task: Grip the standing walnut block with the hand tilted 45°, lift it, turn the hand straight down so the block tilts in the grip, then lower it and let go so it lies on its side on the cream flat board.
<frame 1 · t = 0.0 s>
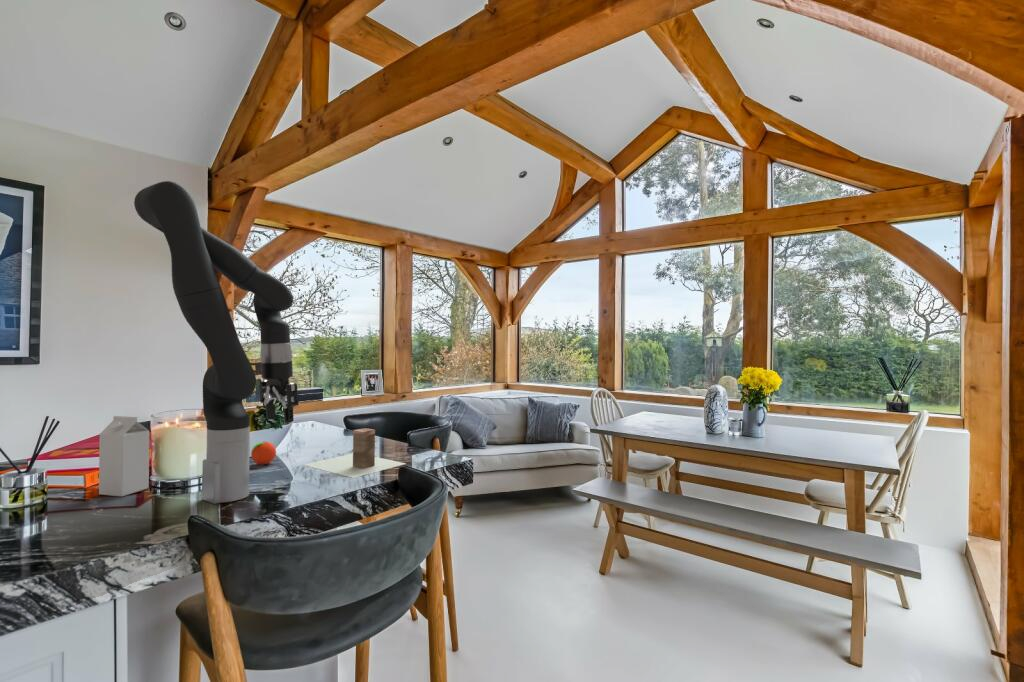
hand: (279, 420, 133), 17 cm above the kitchen island, tool pointing down, fingers open, 8 cm apart
clementine: (262, 465, 154), on the kitchen island
cream flat board: (355, 466, 153), on the kitchen island
walnut block: (363, 466, 151), point 1 cm above the kitchen island, touching cream flat board
milk carton: (124, 492, 125), on the kitchen island
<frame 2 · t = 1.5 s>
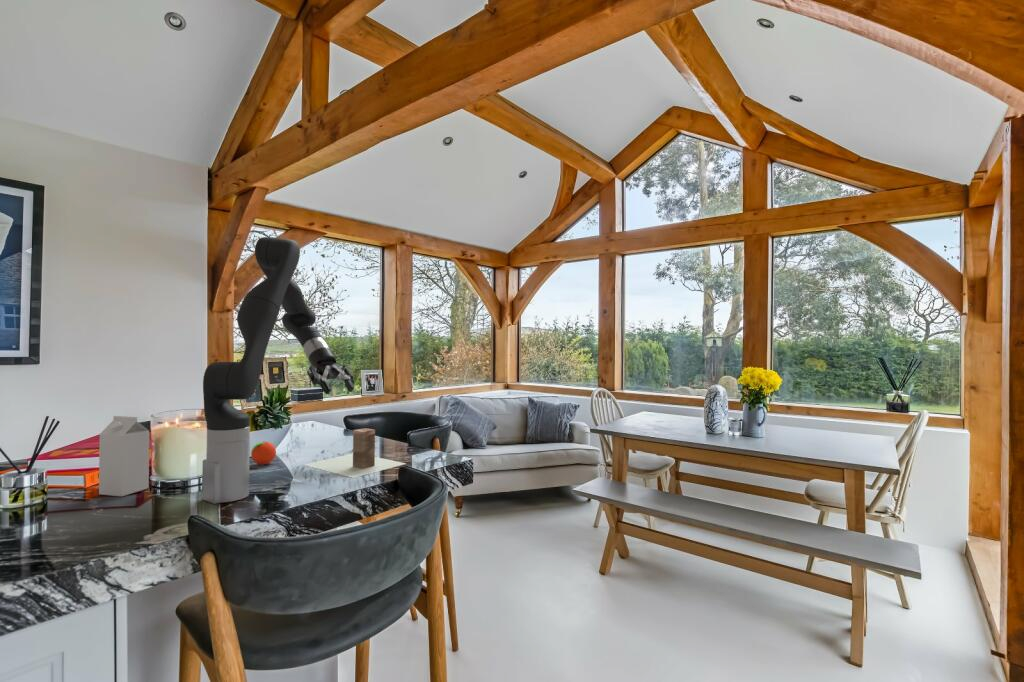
hand: (340, 391, 158), 22 cm above the kitchen island, tool tilted 45°, fingers open, 8 cm apart
nothing on the kitchen island moved.
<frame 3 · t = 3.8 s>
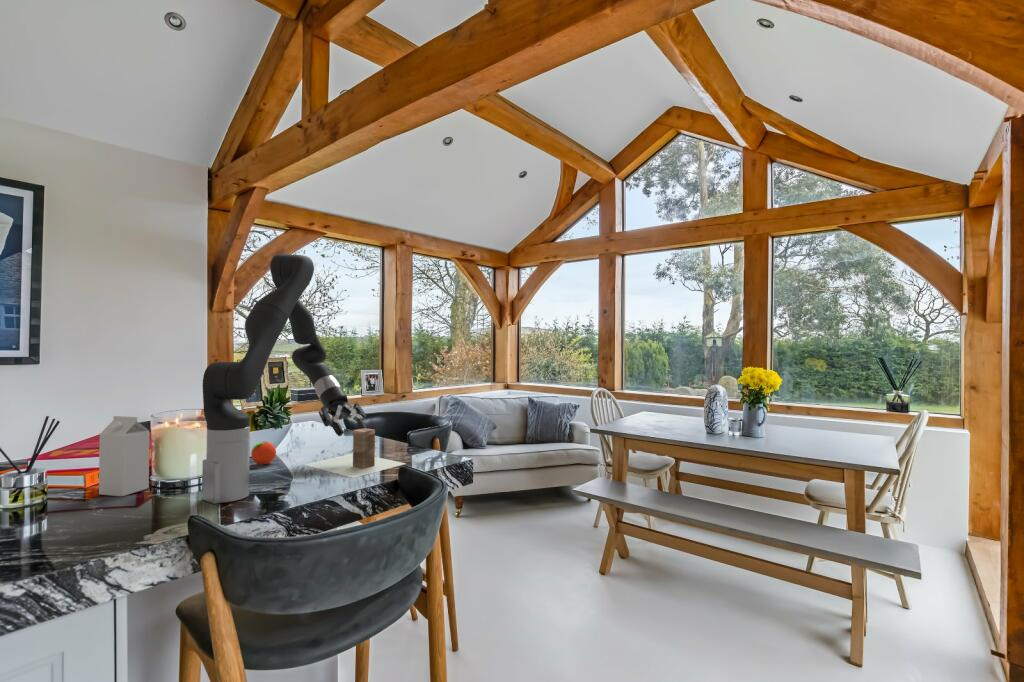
hand: (353, 432, 154), 10 cm above the kitchen island, tool tilted 45°, fingers open, 8 cm apart
nothing on the kitchen island moved.
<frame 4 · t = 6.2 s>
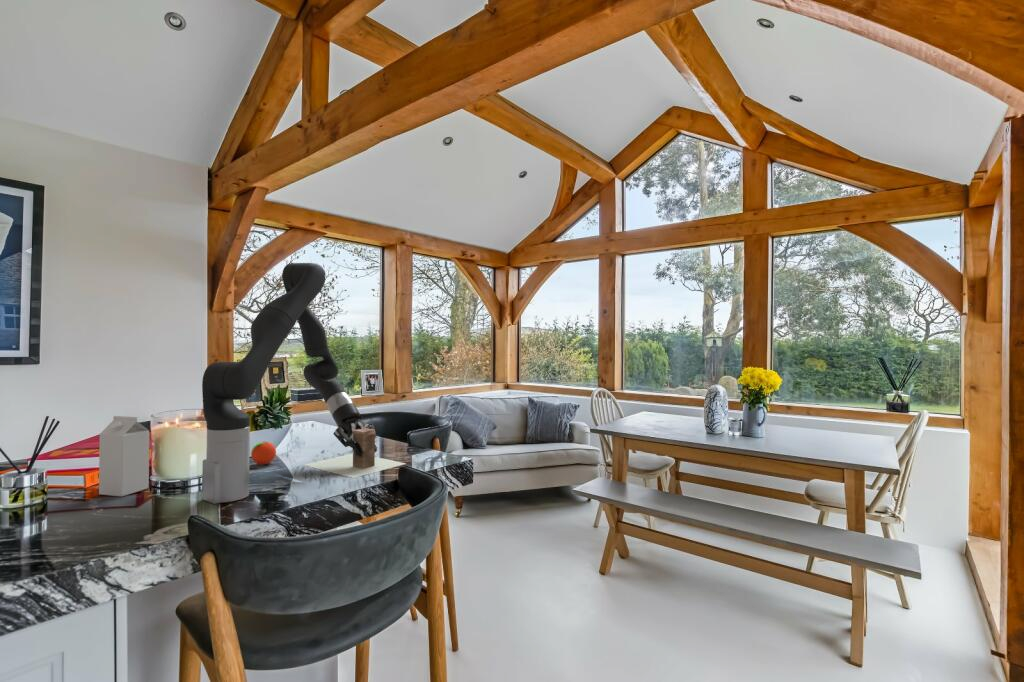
hand: (368, 453, 150), 5 cm above the kitchen island, tool tilted 45°, fingers closed on walnut block, 4 cm apart
walnut block: (363, 466, 151), point 1 cm above the kitchen island, touching gripper, cream flat board
everything else where it was.
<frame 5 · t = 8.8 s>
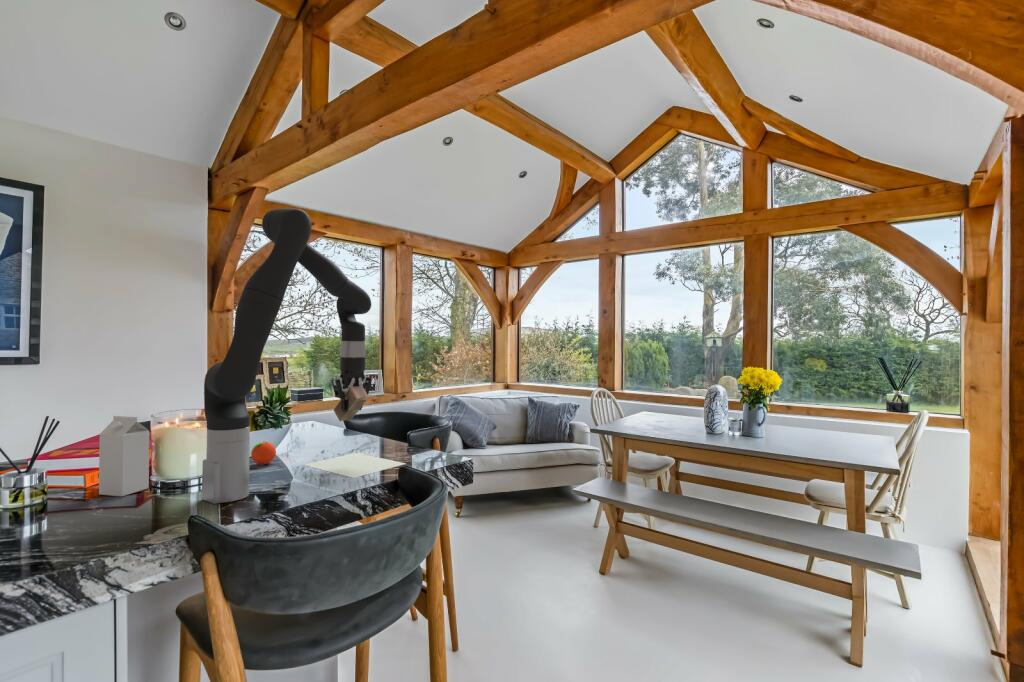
hand: (351, 410, 154), 17 cm above the kitchen island, tool pointing down, fingers closed on walnut block, 4 cm apart
walnut block: (342, 414, 156), point 15 cm above the kitchen island, tilted 45°, touching gripper
everything else where it was.
when the fingers open (6 cm above the kitchen island, at t = 12.3 s): walnut block drops 1 cm and tips over, resting on cream flat board.
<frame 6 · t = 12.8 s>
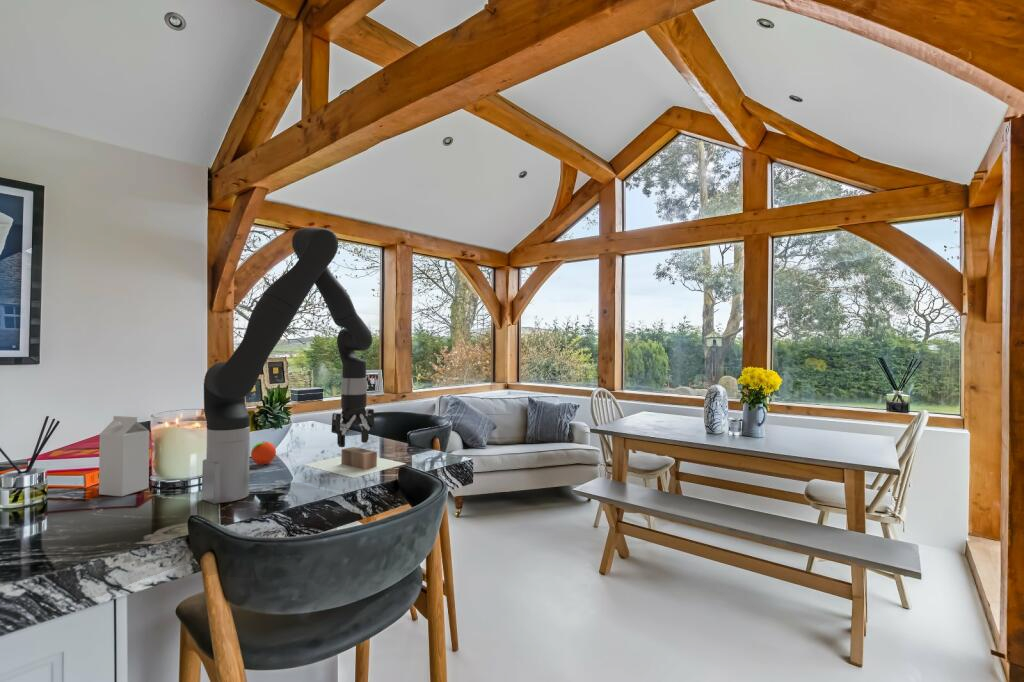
hand: (353, 444, 154), 6 cm above the kitchen island, tool pointing down, fingers open, 8 cm apart
walnut block: (347, 455, 155), point 3 cm above the kitchen island, tilted 90°, touching cream flat board
everything else where it was.
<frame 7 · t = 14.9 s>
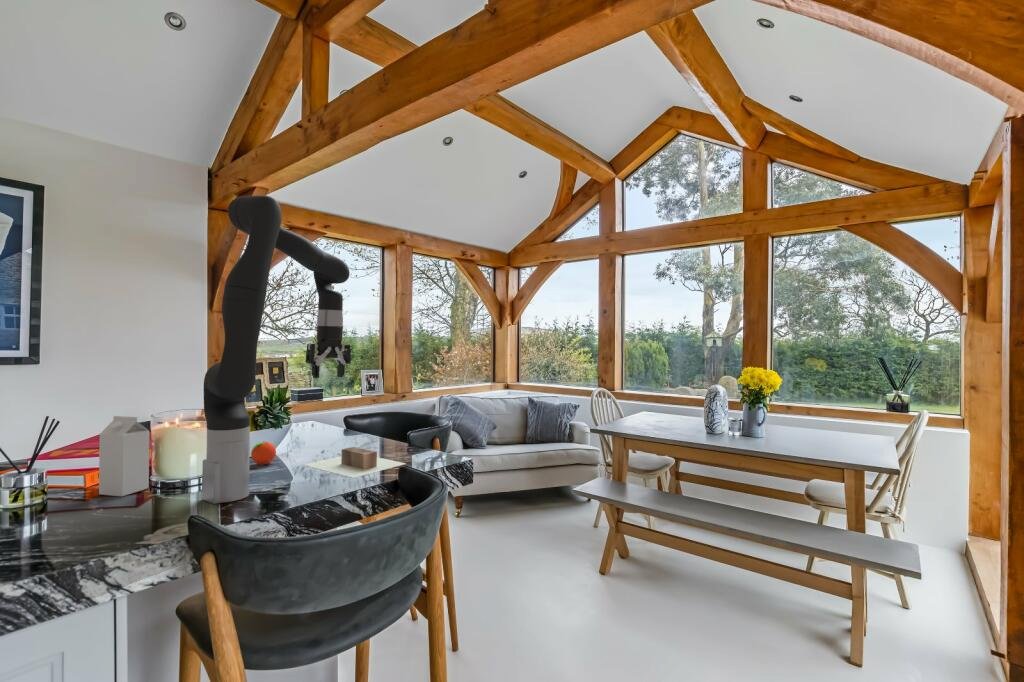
hand: (328, 377, 153), 27 cm above the kitchen island, tool pointing down, fingers open, 8 cm apart
nothing on the kitchen island moved.
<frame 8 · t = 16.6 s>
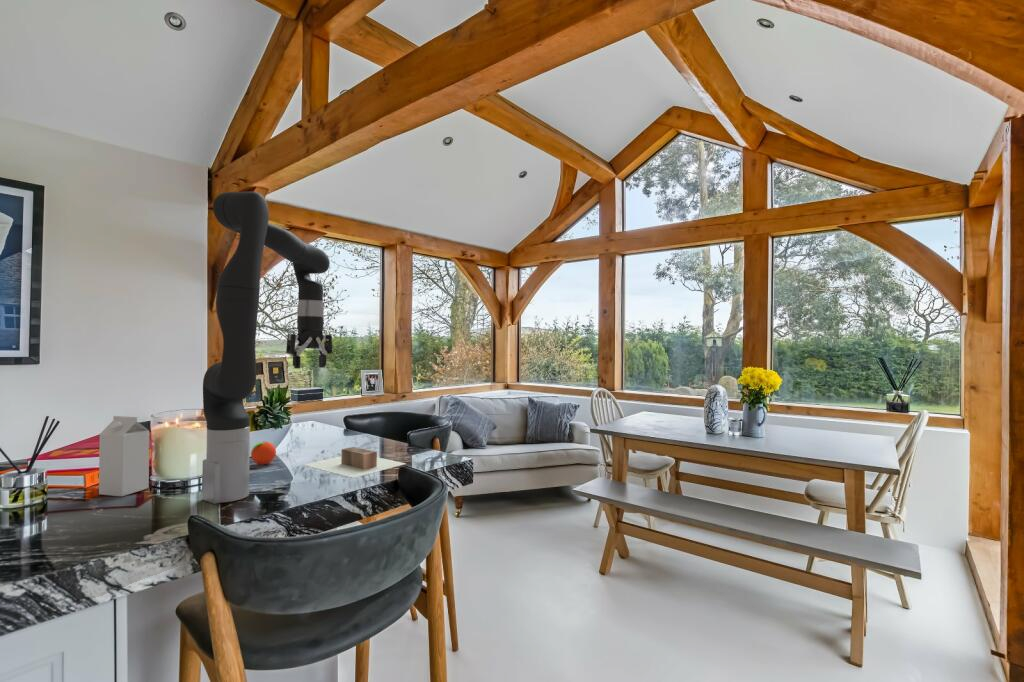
hand: (309, 367, 153), 30 cm above the kitchen island, tool pointing down, fingers open, 8 cm apart
nothing on the kitchen island moved.
at the end: walnut block tilted 90°; walnut block inside the target area on the cream flat board (3.6 cm from its centre), point 2.8 cm above the cream flat board's base; the gripper is holding nothing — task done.
